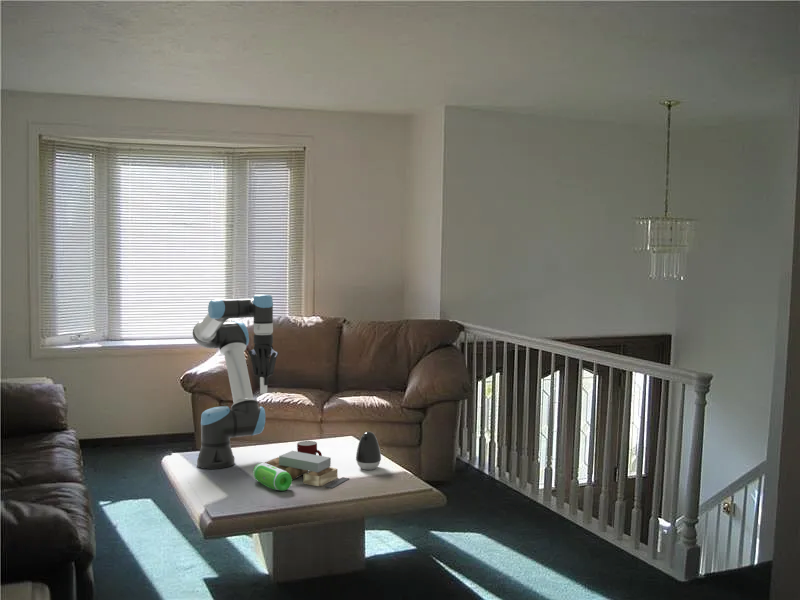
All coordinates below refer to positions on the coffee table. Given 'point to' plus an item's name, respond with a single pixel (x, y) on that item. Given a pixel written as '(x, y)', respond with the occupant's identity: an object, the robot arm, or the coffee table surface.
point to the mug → (308, 447)
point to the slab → (304, 461)
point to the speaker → (272, 476)
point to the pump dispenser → (368, 452)
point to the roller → (320, 472)
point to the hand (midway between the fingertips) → (263, 393)
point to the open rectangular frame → (320, 478)
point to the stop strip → (337, 482)
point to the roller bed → (287, 468)
